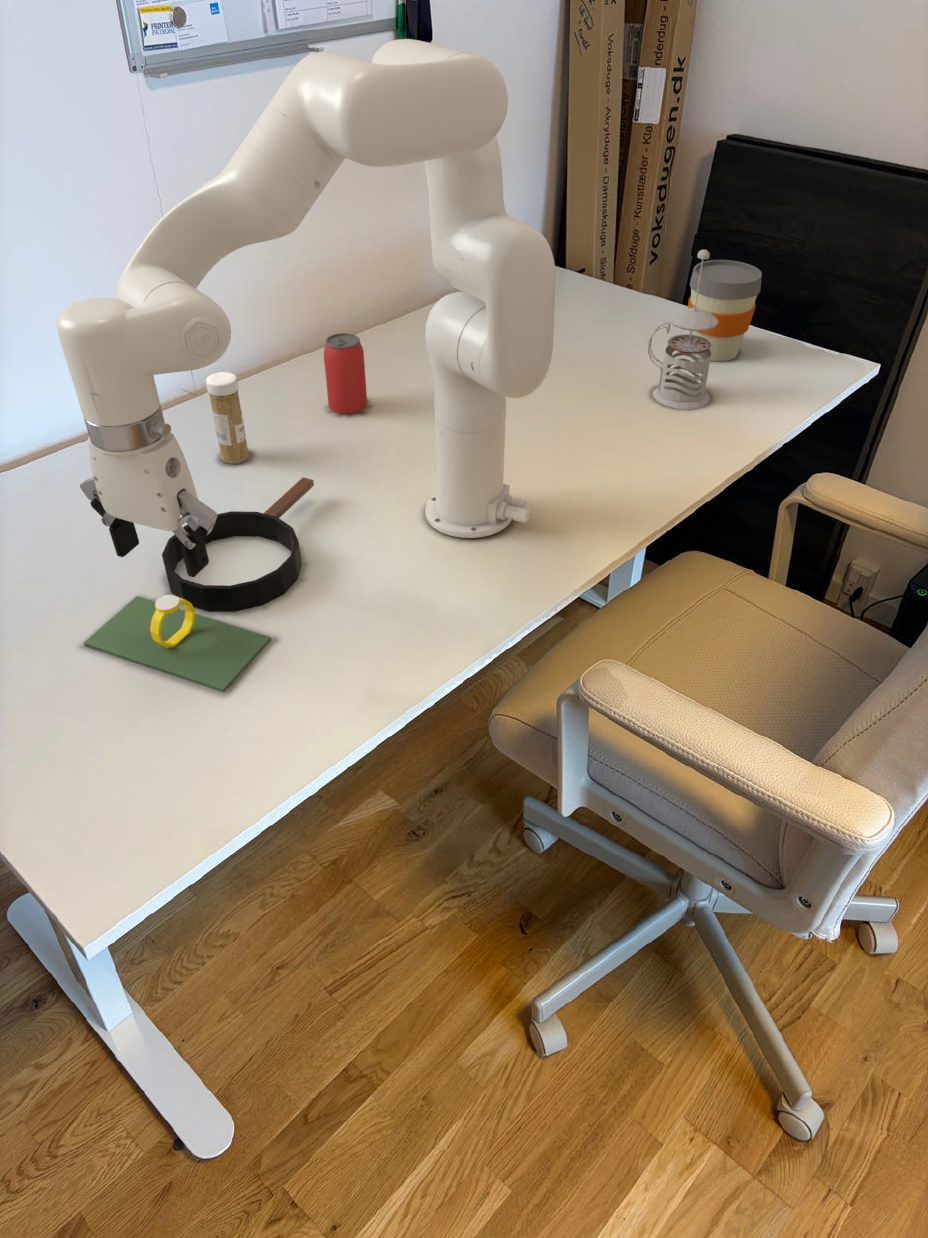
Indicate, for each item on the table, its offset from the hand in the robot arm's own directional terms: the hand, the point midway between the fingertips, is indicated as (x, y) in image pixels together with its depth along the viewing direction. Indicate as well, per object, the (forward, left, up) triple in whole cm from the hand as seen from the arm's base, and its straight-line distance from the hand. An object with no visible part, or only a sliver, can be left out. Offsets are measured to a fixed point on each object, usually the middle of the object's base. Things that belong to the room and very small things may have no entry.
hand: (163, 559), depth 108 cm
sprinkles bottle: (+19, -39, -12) cm, 45 cm away
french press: (-39, -88, -12) cm, 97 cm away
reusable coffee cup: (-41, -109, -12) cm, 117 cm away
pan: (+2, -20, -12) cm, 23 cm away
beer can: (+11, -61, -12) cm, 64 cm away
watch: (0, +1, -12) cm, 12 cm away
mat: (0, +1, -12) cm, 12 cm away
